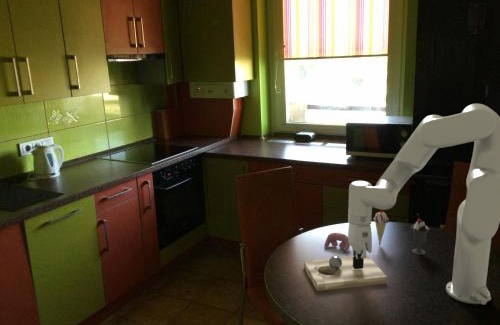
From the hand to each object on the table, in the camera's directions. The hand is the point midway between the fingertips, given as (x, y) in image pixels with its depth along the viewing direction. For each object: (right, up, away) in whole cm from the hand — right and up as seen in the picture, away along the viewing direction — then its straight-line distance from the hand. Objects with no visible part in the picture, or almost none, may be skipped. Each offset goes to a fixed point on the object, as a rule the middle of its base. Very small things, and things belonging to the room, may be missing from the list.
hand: (358, 267), depth 152 cm
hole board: (-5, -3, +2) cm, 6 cm away
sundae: (+27, +2, +17) cm, 32 cm away
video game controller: (-2, +2, +22) cm, 23 cm away
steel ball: (-8, +2, +1) cm, 8 cm away
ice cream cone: (+14, +3, +23) cm, 27 cm away
